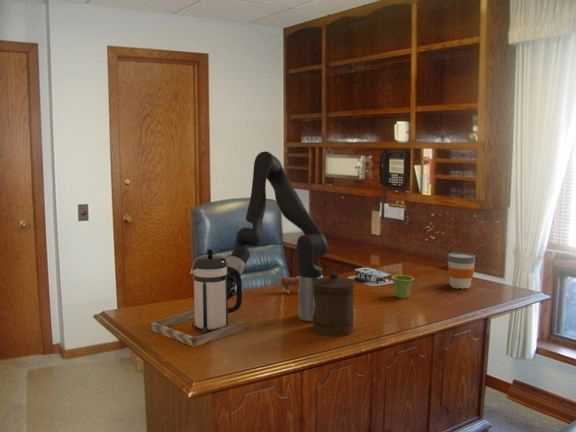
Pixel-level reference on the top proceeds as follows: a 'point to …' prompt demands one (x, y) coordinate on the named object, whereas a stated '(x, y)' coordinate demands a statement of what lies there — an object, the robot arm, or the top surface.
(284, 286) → the bull figurine
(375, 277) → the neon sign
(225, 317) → the coffee press
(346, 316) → the wooden container
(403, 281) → the plant pot
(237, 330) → the birch stand
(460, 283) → the reusable coffee cup
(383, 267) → the top surface
